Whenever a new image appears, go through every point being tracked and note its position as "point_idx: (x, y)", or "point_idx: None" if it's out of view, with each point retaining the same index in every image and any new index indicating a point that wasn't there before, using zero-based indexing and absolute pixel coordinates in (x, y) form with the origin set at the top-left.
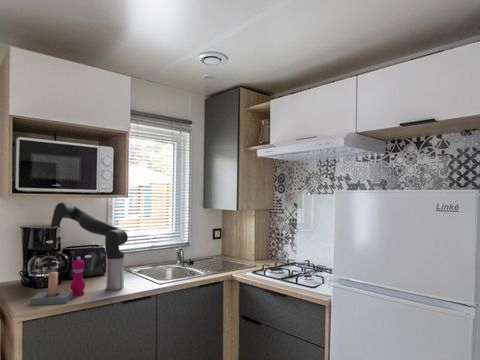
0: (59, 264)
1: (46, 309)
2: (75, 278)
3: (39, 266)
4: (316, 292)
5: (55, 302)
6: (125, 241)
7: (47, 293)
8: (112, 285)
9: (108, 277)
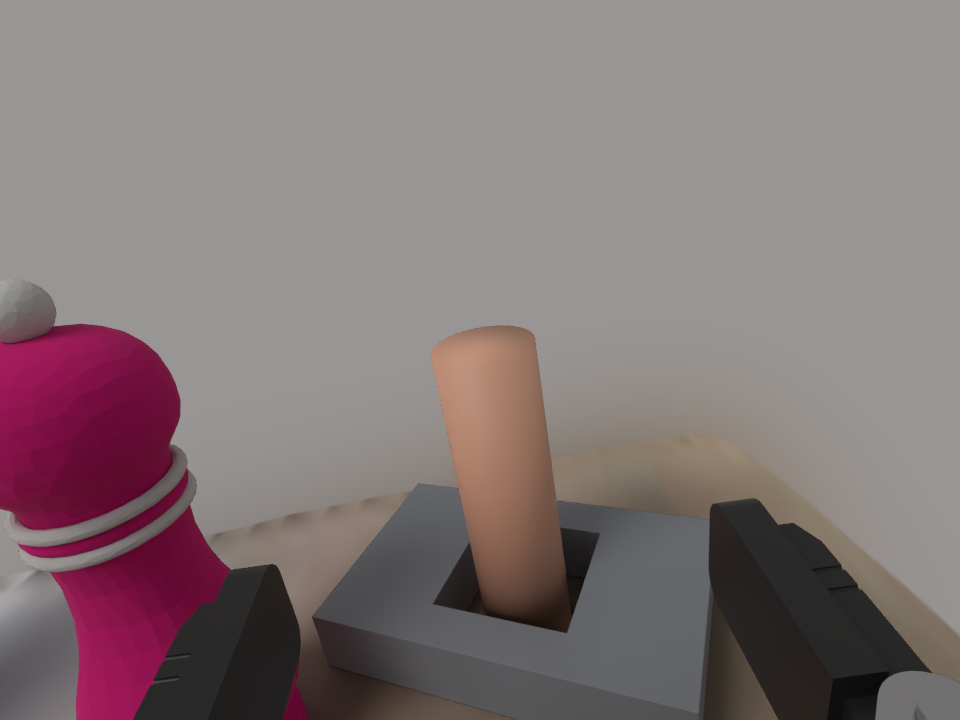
0: (269, 567)
1: (561, 462)
2: (213, 553)
3: (847, 580)
4: None
5: None
6: None
7: (577, 631)
8: None
9: None
